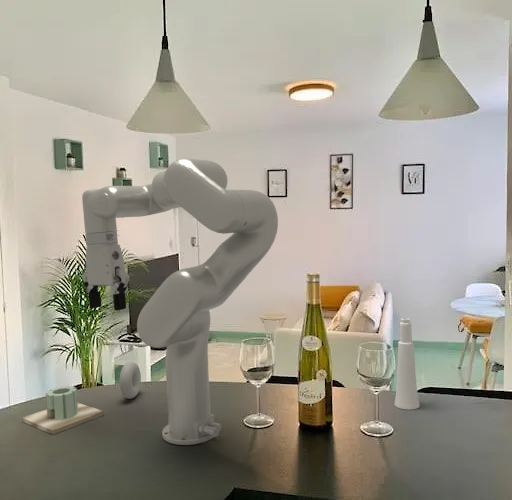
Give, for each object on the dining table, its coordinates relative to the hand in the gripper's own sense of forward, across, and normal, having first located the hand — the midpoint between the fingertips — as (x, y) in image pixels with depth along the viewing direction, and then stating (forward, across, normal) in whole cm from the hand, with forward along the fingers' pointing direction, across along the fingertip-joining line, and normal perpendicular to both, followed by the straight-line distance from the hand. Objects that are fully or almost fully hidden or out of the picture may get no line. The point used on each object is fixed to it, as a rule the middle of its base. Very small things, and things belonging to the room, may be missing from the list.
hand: (107, 308), depth 132 cm
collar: (+26, +11, +8) cm, 29 cm away
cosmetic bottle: (+30, -58, -44) cm, 78 cm away
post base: (+27, +11, +8) cm, 30 cm away
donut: (+27, +7, -11) cm, 30 cm away
